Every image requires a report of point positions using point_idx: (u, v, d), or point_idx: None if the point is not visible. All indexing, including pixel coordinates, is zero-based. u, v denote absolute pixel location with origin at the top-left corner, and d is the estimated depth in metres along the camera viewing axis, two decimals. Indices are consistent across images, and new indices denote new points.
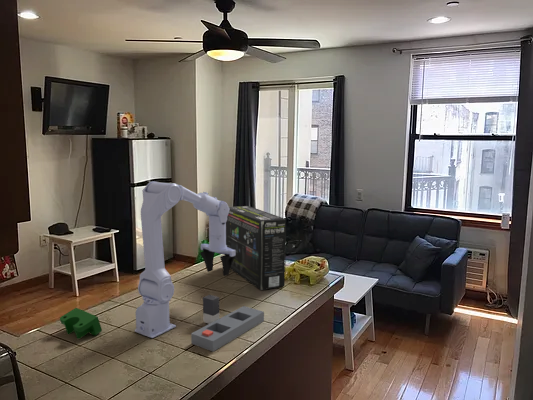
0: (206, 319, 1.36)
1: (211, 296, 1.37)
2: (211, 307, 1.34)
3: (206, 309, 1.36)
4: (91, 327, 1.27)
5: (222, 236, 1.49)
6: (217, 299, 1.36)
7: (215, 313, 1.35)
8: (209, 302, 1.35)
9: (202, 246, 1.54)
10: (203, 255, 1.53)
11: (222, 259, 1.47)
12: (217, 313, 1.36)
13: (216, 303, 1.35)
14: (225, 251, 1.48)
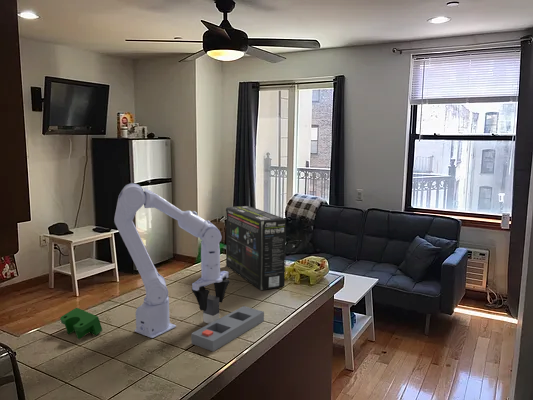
0: (206, 319, 1.36)
1: (211, 296, 1.37)
2: (211, 307, 1.34)
3: (206, 309, 1.36)
4: (91, 327, 1.27)
5: (203, 265, 1.32)
6: (217, 299, 1.35)
7: (215, 313, 1.35)
8: (209, 302, 1.35)
9: None
10: None
11: None
12: (217, 313, 1.36)
13: (216, 303, 1.35)
14: None
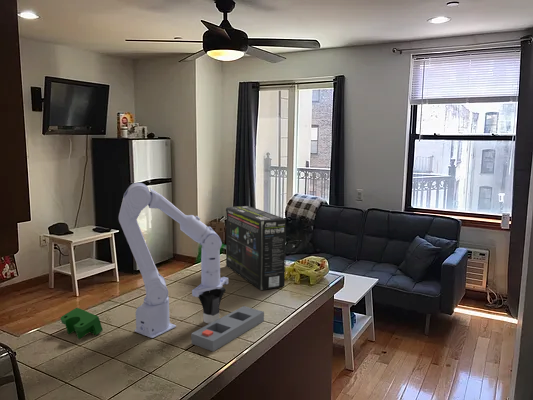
0: (206, 319, 1.36)
1: None
2: (211, 307, 1.34)
3: None
4: (92, 327, 1.27)
5: (203, 272, 1.33)
6: (217, 299, 1.35)
7: (215, 313, 1.35)
8: None
9: None
10: None
11: None
12: (217, 313, 1.36)
13: (216, 303, 1.35)
14: None
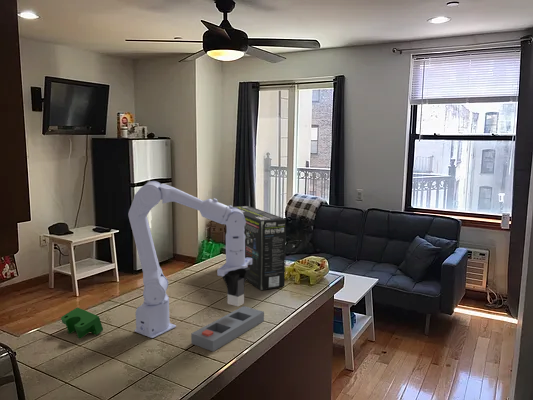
0: (230, 300, 1.33)
1: None
2: (236, 288, 1.31)
3: None
4: (92, 327, 1.27)
5: (228, 251, 1.29)
6: (242, 280, 1.32)
7: (240, 294, 1.32)
8: None
9: None
10: None
11: None
12: (242, 294, 1.33)
13: (241, 284, 1.32)
14: None
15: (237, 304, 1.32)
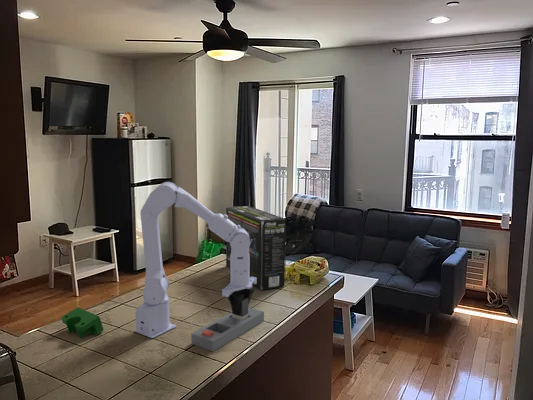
0: None
1: None
2: None
3: None
4: (93, 326, 1.27)
5: (232, 271, 1.30)
6: (246, 300, 1.33)
7: (244, 314, 1.33)
8: None
9: None
10: None
11: None
12: (246, 314, 1.33)
13: (245, 304, 1.33)
14: None
15: None
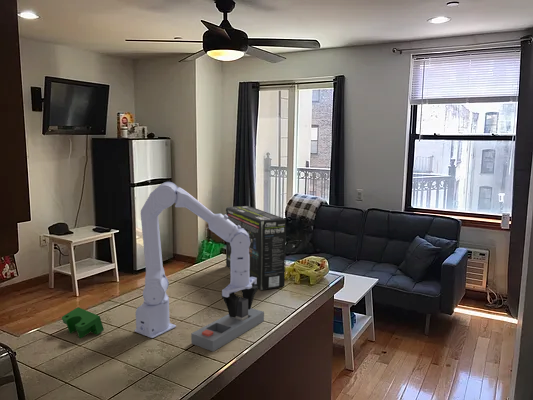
0: None
1: (240, 298, 1.34)
2: (240, 309, 1.32)
3: None
4: (93, 326, 1.27)
5: (232, 271, 1.30)
6: (246, 301, 1.33)
7: (244, 315, 1.33)
8: (238, 304, 1.32)
9: None
10: None
11: None
12: (246, 315, 1.33)
13: (245, 305, 1.33)
14: None
15: None
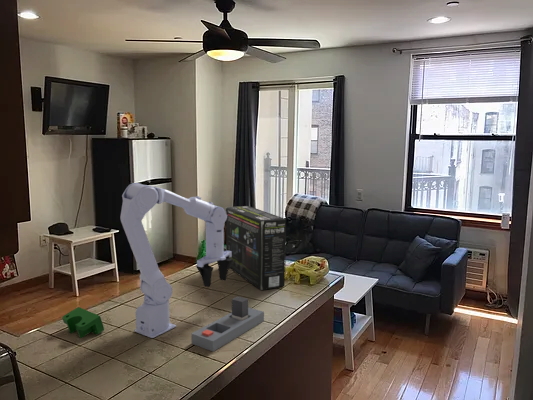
0: None
1: (240, 298, 1.34)
2: (240, 309, 1.32)
3: (235, 311, 1.33)
4: (93, 326, 1.27)
5: (207, 244, 1.39)
6: (246, 301, 1.33)
7: (244, 315, 1.33)
8: (238, 304, 1.32)
9: None
10: None
11: None
12: (246, 315, 1.33)
13: (245, 305, 1.33)
14: None
15: None
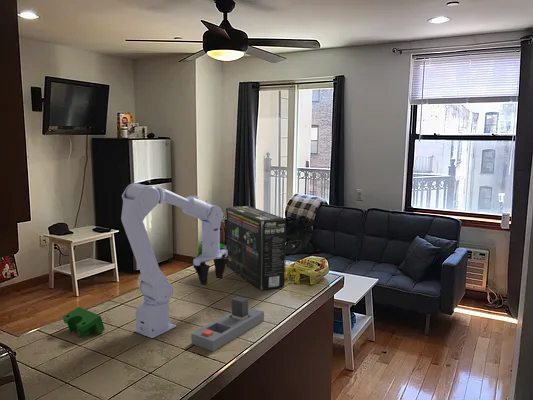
0: None
1: (240, 298, 1.34)
2: (240, 309, 1.32)
3: (235, 311, 1.33)
4: (94, 326, 1.27)
5: (203, 242, 1.41)
6: (246, 301, 1.33)
7: (244, 315, 1.33)
8: (238, 304, 1.32)
9: None
10: None
11: None
12: (246, 315, 1.33)
13: (245, 305, 1.33)
14: None
15: None
